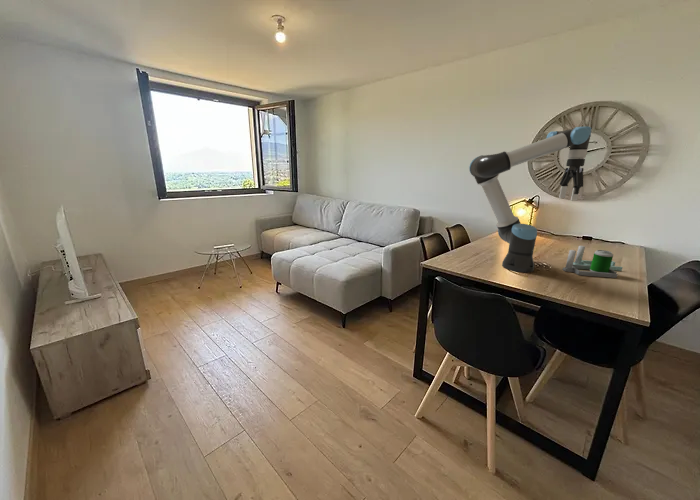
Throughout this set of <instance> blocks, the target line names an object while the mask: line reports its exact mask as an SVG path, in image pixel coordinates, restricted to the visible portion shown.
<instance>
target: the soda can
mask: <svg viewBox="0 0 700 500" xmlns="http://www.w3.org/2000/svg"><path fill="white" fill-rule="evenodd" d="M613 257H614V254H613V252H612V251H608V250H603V249H597V250H595V251H594V253H593V257H592V260H591V261H592V263H591V267H590V270H589V272H602V273H609V269H610V266H611V262H612V261H613Z"/></svg>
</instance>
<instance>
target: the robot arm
mask: <svg viewBox="0 0 700 500" xmlns="http://www.w3.org/2000/svg"><path fill="white" fill-rule="evenodd" d="M592 130H593V129H592V127H591V126H589V125H588V126H576V127H574V128H570V129H565V130H555V131H554V130H553V131H550V132H548V133H547V135H546V138H544V139H541V140H538V141H536V142H532V143H530V144H527V145H524V146H521V147H518V148H516V149H513V150H511V151H506V150H504V151H502V152H498V153H493V154H486V155H479V156H477V157H475V158H473V160H472V161H471V162H470V164H469V166H468V169H469V172H470V173H469V174H470V175H472V177H473V178H474V179H475V182H476V184H477V185H478V186H481V187H482V190H483V191H484V192H483V193H484V194H485V196H486V198H487V200H488V203H489V205H490V207H491V209H492V211H493V214H494V216H495V218H496V220H497V224H496V227H497V234H498V236H499V237H500V239H501V240H503V241H504V242H506V243H507V244H508V249H507V254H506V255H505V256H504V259H503V261H502V264H501V266H502V267H503V268H504V269H506V270H509V271H512V272H519V273H532V272H534V271H535V263H534V258H533V256H534V250H535V246H536V245H535V244H536V241H537V237H538V229H537V227H535V226H534V225H531V224H527V223H521V221H520V219H519V217H518V216H515V215H514V213H513V210H512V208H511V206H510V203H509V202H508V199H507V197H506V194H505V191H504V189H503V188H502V186H501V183H500V181H499V179H498V178H499V175H500V174H502V173H504V172H507V171H510V170H511V169H512V168H513V167H515V166H518V165H522V164H524V163H527V162H529V161H533V160H536V159H538V158H541V157H544V156H546V155H547V156H548V155H549V154H553V153H555V152H558V151H561V150H563V149H566V148H569V150H568V154H567V158H568V159H567V160H566V164H565V166H566V167H565V169H564V173H563V175H562V177H561V179H560V182H559V186H560V191H559V197H558V198H559V199H566V196H567V191H568V186H569V185H568V184H569V183H570V181H571V180H572V181H573V187H572V192H571V197H570V201H574V202H575V201H578V198H579V193H580V190H581V188H582V187H584V166H585V161H586V159H585V158H586V157H587V154H588V149H589V148H588V147H589V143H590V140H591V137H592Z"/></svg>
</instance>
